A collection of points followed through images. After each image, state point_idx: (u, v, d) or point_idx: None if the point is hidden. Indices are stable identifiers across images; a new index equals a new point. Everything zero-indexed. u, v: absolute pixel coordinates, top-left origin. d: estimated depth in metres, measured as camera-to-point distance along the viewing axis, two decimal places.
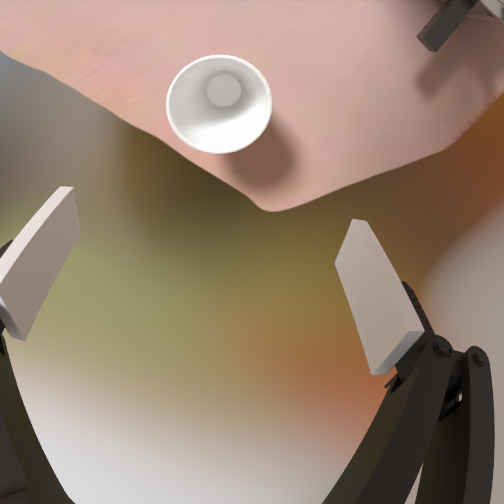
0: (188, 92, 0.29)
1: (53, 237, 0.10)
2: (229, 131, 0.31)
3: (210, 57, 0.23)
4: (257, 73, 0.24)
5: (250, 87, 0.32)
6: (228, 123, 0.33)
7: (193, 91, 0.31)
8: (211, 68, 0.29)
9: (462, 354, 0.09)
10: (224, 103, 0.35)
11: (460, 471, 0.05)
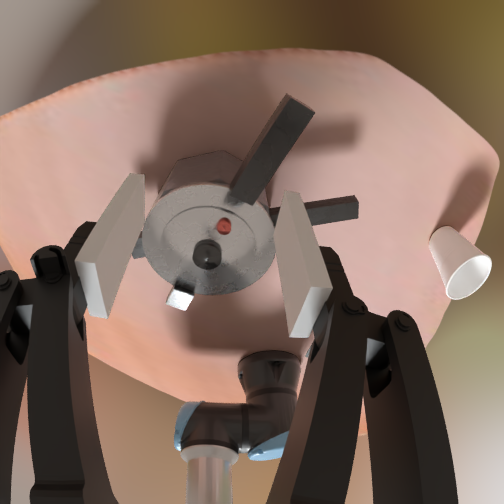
0: None
1: (130, 219, 0.12)
2: None
3: (448, 296, 0.42)
4: (451, 278, 0.40)
5: (440, 239, 0.45)
6: None
7: None
8: None
9: (382, 322, 0.09)
10: None
11: (409, 452, 0.06)
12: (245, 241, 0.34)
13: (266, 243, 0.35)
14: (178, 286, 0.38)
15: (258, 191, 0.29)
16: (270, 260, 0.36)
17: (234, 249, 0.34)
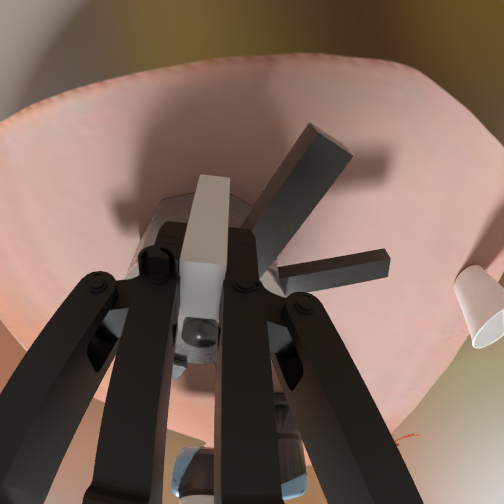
0: None
1: None
2: (503, 289, 0.34)
3: (474, 346, 0.34)
4: (480, 330, 0.32)
5: (469, 282, 0.37)
6: None
7: None
8: None
9: (282, 307, 0.09)
10: None
11: (343, 448, 0.06)
12: None
13: None
14: None
15: (266, 263, 0.21)
16: None
17: None
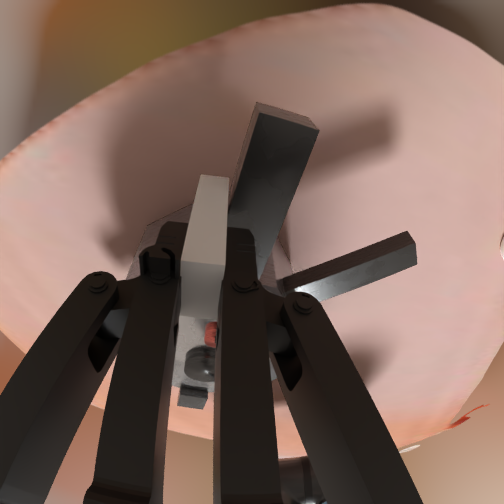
0: None
1: None
2: None
3: None
4: None
5: None
6: None
7: None
8: None
9: (280, 307, 0.09)
10: None
11: (342, 448, 0.06)
12: None
13: None
14: (186, 389, 0.28)
15: None
16: None
17: None
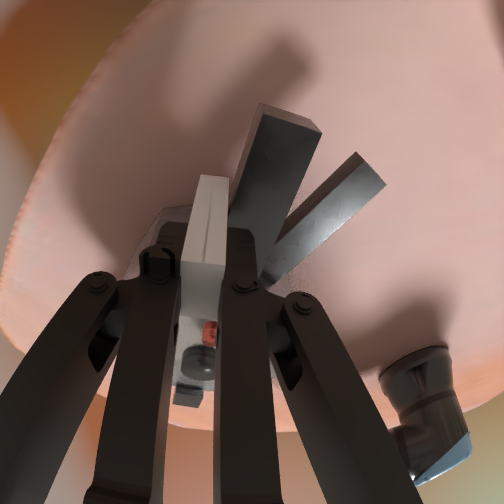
0: None
1: None
2: None
3: None
4: None
5: None
6: None
7: None
8: None
9: (281, 307, 0.09)
10: None
11: (342, 448, 0.06)
12: None
13: None
14: (181, 387, 0.28)
15: None
16: None
17: None
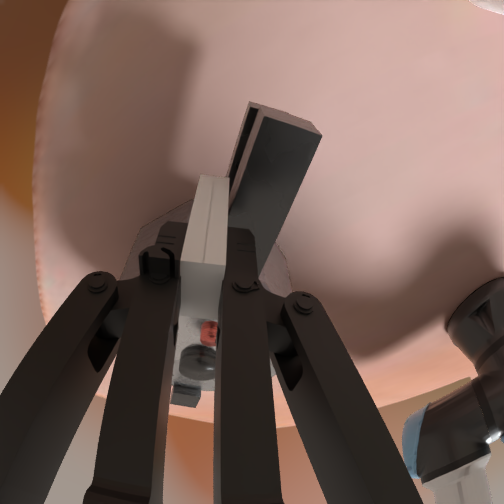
0: None
1: None
2: None
3: None
4: None
5: None
6: None
7: None
8: None
9: (281, 307, 0.09)
10: None
11: (342, 448, 0.06)
12: None
13: None
14: (179, 387, 0.28)
15: None
16: None
17: None
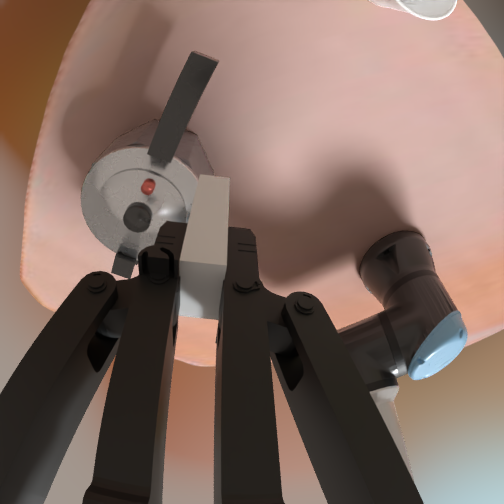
0: None
1: None
2: None
3: (430, 18, 0.19)
4: None
5: None
6: None
7: None
8: None
9: (282, 307, 0.09)
10: None
11: (343, 448, 0.06)
12: (172, 201, 0.33)
13: None
14: (120, 254, 0.37)
15: (173, 147, 0.28)
16: None
17: (163, 211, 0.33)
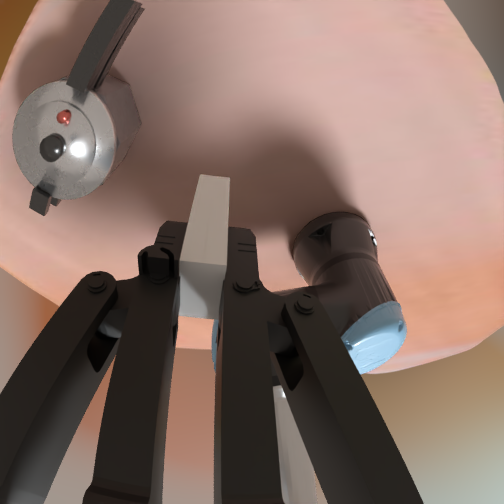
0: None
1: None
2: None
3: None
4: None
5: None
6: None
7: None
8: None
9: (282, 307, 0.09)
10: None
11: (343, 448, 0.06)
12: (83, 133, 0.28)
13: (104, 138, 0.30)
14: (38, 188, 0.32)
15: (87, 78, 0.24)
16: (110, 158, 0.31)
17: (75, 143, 0.29)
